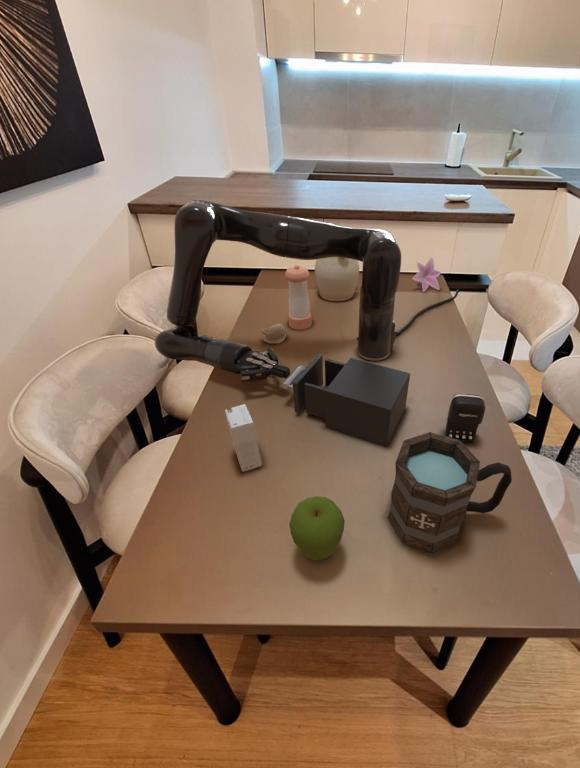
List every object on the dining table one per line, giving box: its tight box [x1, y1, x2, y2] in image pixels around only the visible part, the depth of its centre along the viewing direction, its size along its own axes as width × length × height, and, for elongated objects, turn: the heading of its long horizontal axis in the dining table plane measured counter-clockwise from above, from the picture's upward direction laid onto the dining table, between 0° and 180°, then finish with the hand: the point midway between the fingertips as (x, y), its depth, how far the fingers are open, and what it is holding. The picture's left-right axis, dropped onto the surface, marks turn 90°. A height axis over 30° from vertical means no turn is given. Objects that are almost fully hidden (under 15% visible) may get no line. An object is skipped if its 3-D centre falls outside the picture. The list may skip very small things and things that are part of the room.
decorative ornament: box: [260, 323, 287, 345], centre depth 117 cm, size 4×8×5 cm, turn 129°
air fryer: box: [325, 357, 411, 447], centre depth 90 cm, size 15×14×11 cm
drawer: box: [281, 353, 346, 420], centre depth 93 cm, size 18×12×9 cm
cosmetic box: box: [224, 403, 263, 472], centre depth 78 cm, size 6×4×12 cm
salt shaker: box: [284, 264, 313, 331], centre depth 120 cm, size 7×7×19 cm
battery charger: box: [443, 393, 486, 443], centre depth 85 cm, size 7×4×11 cm, turn 83°
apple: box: [288, 495, 345, 561], centre depth 63 cm, size 9×8×12 cm
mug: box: [387, 431, 513, 554], centre depth 68 cm, size 20×14×15 cm
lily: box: [411, 257, 442, 293], centre depth 149 cm, size 12×12×10 cm
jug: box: [314, 222, 360, 302], centre depth 136 cm, size 15×16×25 cm
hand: (288, 373), depth 95 cm, fingers closed
